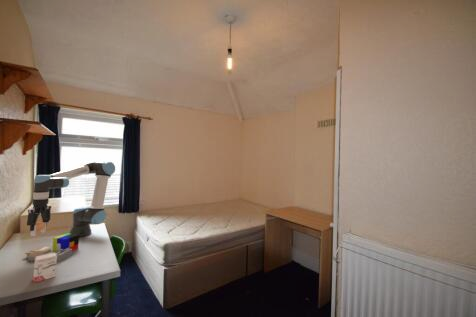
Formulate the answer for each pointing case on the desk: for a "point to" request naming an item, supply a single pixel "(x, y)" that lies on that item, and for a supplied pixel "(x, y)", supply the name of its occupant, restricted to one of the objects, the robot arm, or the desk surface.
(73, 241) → the puzzle toy
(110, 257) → the desk surface
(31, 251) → the tee
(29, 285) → the desk surface
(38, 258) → the ink box
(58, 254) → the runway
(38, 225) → the ball
